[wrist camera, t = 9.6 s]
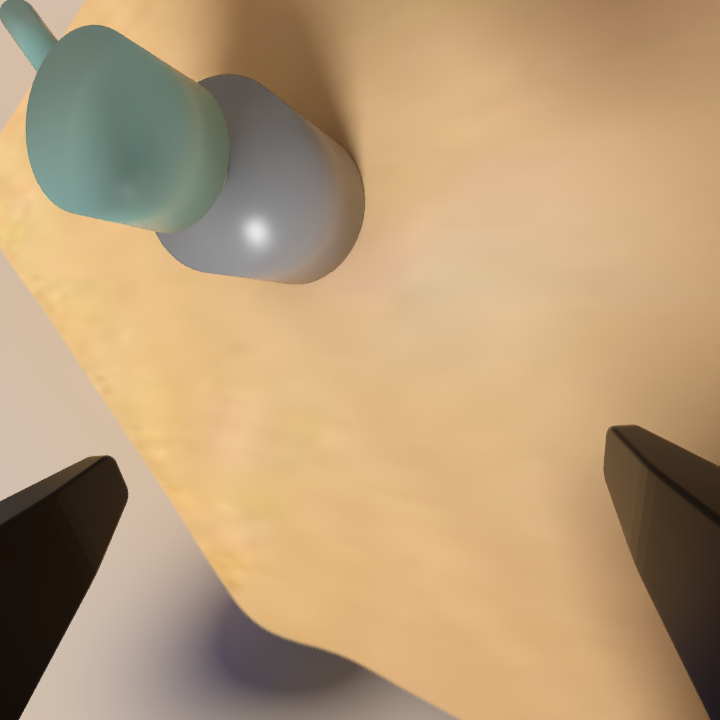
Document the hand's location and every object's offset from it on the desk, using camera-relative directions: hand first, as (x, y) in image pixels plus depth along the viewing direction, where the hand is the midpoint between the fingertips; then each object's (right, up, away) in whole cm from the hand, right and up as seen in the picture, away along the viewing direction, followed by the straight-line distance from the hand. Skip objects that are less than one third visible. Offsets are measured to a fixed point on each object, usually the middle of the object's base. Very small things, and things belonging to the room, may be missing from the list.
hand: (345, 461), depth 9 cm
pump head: (-6, +9, +9) cm, 14 cm away
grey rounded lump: (-3, +9, +14) cm, 17 cm away
